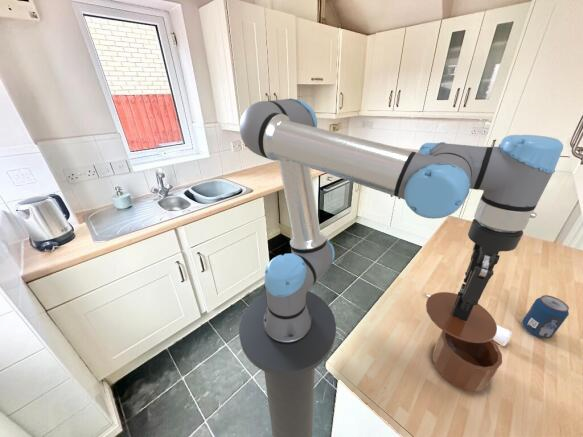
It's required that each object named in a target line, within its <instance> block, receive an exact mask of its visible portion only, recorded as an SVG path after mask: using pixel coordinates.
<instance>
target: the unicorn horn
mask: <svg viewBox="0 0 583 437" xmlns="http://www.w3.org/2000/svg"><path fill="white" fill-rule="evenodd" d="M426 296H427V297H428V298H429V297H430V296H431V295H430V294H426ZM496 326H497V332H496V335H495V336H494V338H493V339H492V341H493V342H496V343H497V344H499V345H500V346H502V347H505V346H507V345H508V343H509V342H510V340H511V337H512V335H513V333H512V331H511V330H509V329H507V328H506V327H502V326H501V325H498V324H496Z"/></svg>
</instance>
